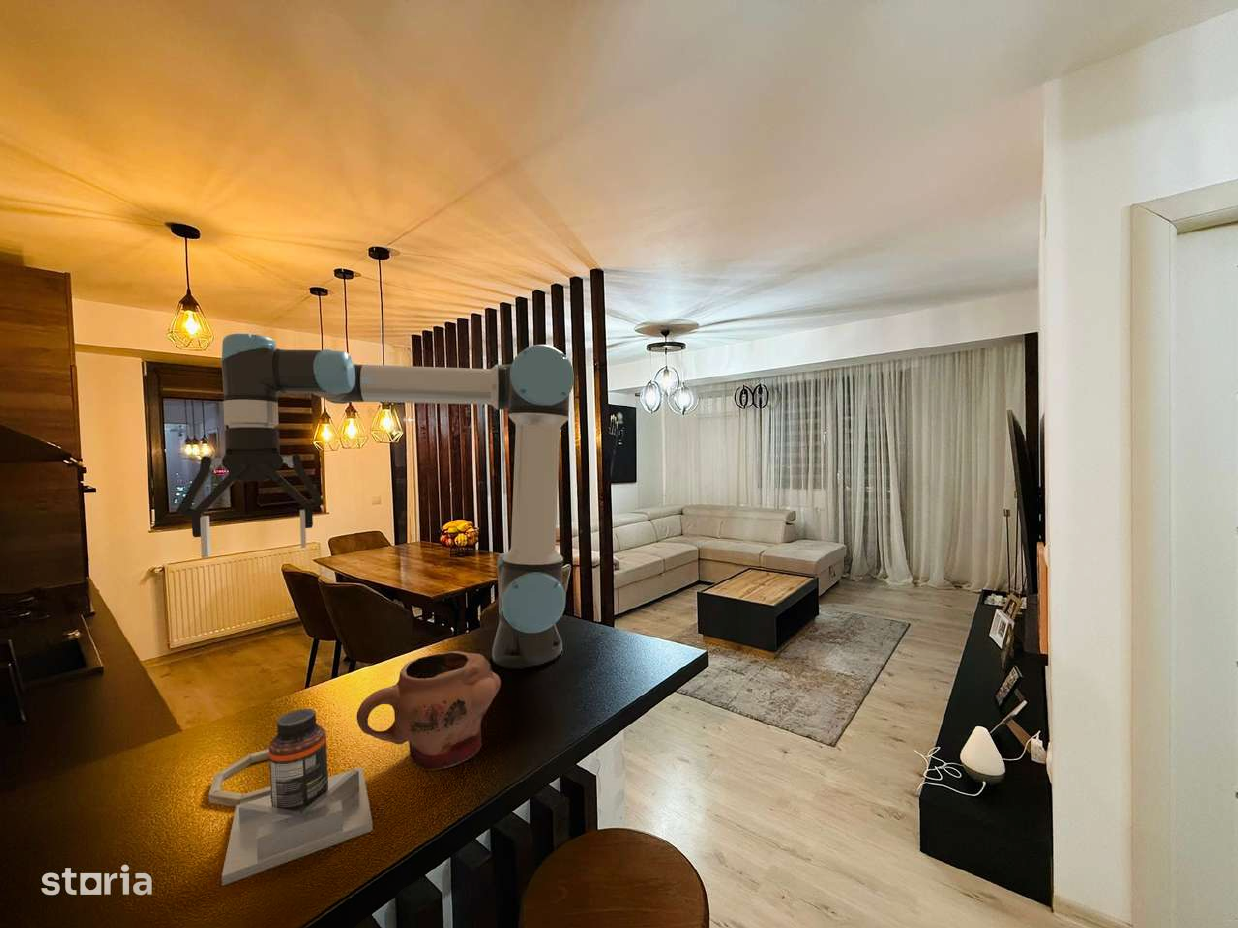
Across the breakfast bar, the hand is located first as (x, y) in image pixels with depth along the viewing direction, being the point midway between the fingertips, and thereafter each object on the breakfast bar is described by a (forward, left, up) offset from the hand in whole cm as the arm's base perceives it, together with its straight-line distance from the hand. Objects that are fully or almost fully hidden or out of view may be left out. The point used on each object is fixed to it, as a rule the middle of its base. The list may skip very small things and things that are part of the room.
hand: (256, 551), depth 87 cm
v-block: (-6, +33, -29) cm, 44 cm away
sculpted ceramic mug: (-22, +29, -29) cm, 47 cm away
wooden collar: (-2, +20, -29) cm, 35 cm away
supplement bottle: (-6, +32, -28) cm, 43 cm away
